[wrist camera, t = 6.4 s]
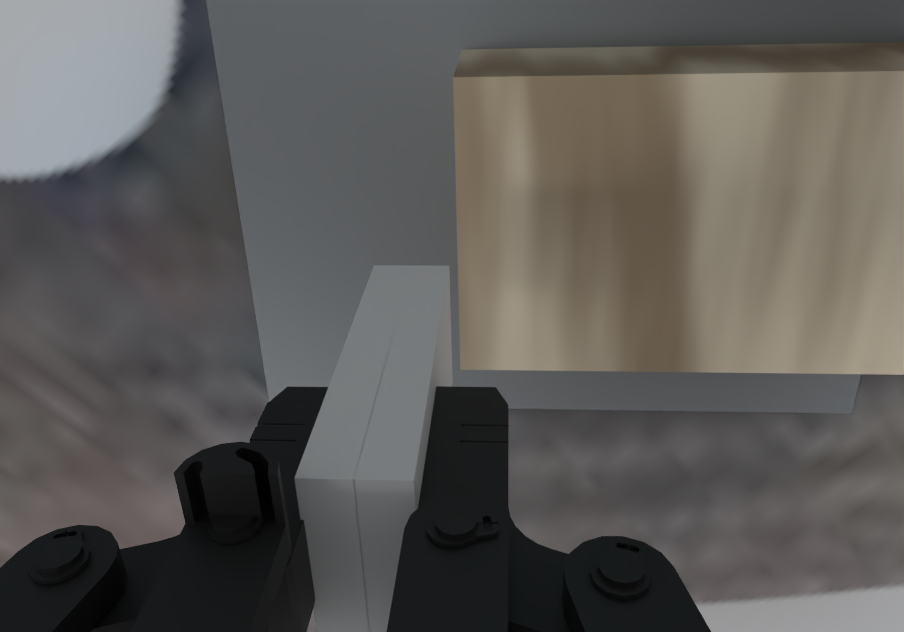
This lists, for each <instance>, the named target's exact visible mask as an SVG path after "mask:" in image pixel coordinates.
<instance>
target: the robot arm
mask: <svg viewBox="0 0 904 632" xmlns="http://www.w3.org/2000/svg"><path fill="white" fill-rule="evenodd" d="M452 385H453V374H452V340H451V307H450V273H449V266H433V265H374V266H373V269H372V272H371V274H370V277H369V280H368V283H367V285H366V288H365V291H364V293H363V296H362V299H361V301H360V304H359V307H358V309H357V312H356V315H355V317H354V320H353V323H352V325H351V328H350V331H349V333H348V336H347V339H346V341H345V344H344V347H343V349H342V352H341V355H340V358H339V360H338V363H337V366H336V368H335V371H334V374H333V376H332V379H331V382H330V384H329V387H286V388H285V389H284V390H283V391H282V392H280V393H279V394H278V395H277V396H276V397H274V398H273V399H272V400H271V401H270V402H268V403H267V405H266V407H265V409H264V411H263V413H262V415H261V417H260V419H259V421H258V427H256V428H255V430H254V432H253V434H252V436H251V438H250V443H246V442H235V443H225V444H219V445H216V446H213V447H210V448H207V449H204V450H201V451H200V452H198V453H196V454H195V455H193V456H191V457H190V458H188V459H186V460H185V461H184V462H183V463H182V464H181V465H180V466H179V468H178V469H177V470H176V471H175V472H174V476H175V480H176V484H177V489H178V493H179V497H180V501H181V506H182V510H183V514H184V518H185V523H186V524H185V526H184V528H183V530H182V532H181V533H180V535H177V536H175V537H172V538H168V539H165V540H161V541H158V542H153V543H148V544H143V545H139V546H134V547H129V548H124V549H119V546H118V543H117V541H116V540H115V538H114V536H113V535H112V533H111V532H109V531H107V530H105V529H103V528H100V527H98V526H86V525H77V526H72V527H67V528H62V529H57V530H55V531H52V532H50V533H48V534H46V535H43V536H41V537H39V538H36V539H35V540H33V541H32V542H31V543H29V544H28V545H27V546H25V547H24V548H22V549H21V550H20V551H18V552H17V553H16V554H15V555H14V556H13V557H12V558H11V559H9V560H8V561H7V562H6V563H5V564H4V565H3V566H2V567H1V568H0V632H307V628H308V624H309V621H310V617H311V614H312V610H313V607H314V614H315V621H316V627H317V632H711V631H710V629H709V627H708V626H707V624H706V622H705V620H704V619H703V617H702V615H701V613H700V612H699V610H698V608H697V607H696V605H695V603H694V601H693V600H692V598H691V596H690V594H689V593H688V591H687V589H686V587H685V586H684V584H683V582H682V580H681V579H680V577H679V575H678V573H677V572H676V570H675V568H674V567H673V566H672V564H671V563H670V562H669V561H668V560H667V559H666V558H665V556H664V555H663V554H662V553H661V552H659V551H658V550H656V549H654V548H653V547H651V546H649V545H648V544H646V543H644V542H642V541H638V540H634V539H630V538H627V537H623V536H601V537H598V538H595V539H592V540H588V541H585V542H583V543H582V544H580V545H579V546H578V547H577V548H575V549H574V550H573V551H572V552H571V553H570V554H567V553H563V552H559V551H556V550H552V549H550V548H547V547H545V546H542V545H539V544H537V543H535V542H534V541H532V540H531V539H529V538H527V537H526V536H525V535H524V534H523V533H522V532H521V531H520V530H519V529H518V528H517V527H516V526H515V524H514V523H513V521H512V519H511V517H510V513H509V508H508V404H507V402H506V401H505V399H504V398H503V397H502V395H501V394H500V392H499V391H498V389H497V388H496V387H452Z"/></svg>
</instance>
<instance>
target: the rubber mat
mask: <svg viewBox="0 0 904 632" xmlns="http://www.w3.org/2000/svg"><path fill="white" fill-rule="evenodd" d="M206 4H207V11H208V17H209V23H210V30H211V36H212V42H213V49H214V55H215V61H216V68H217V74H218V80H219V87H220V93H221V99H222V106H223V112H224V118H225V125H226V131H227V137H228V144H229V150H230V156H231V163H232V169H233V175H234V182H235V188H236V194H237V201H238V207H239V213H240V220H241V226H242V232H243V239H244V245H245V252H246V258H247V264H248V271H249V277H250V283H251V290H252V296H253V302H254V309H255V315H256V321H257V328H258V334H259V340H260V347H261V353H262V359H263V366H264V372H265V378H266V385H267V391H268V397H269V402H270V401H271V400H272V399H273V398H274V397H276V396H277V395H278V394H279V393H280V392H282V391H283V390H284V389H285V388H286V387H329V384H330V382H331V379H332V376H333V374H334V371H335V368H336V366H337V363H338V360H339V358H340V355H341V352H342V349H343V347H344V344H345V341H346V339H347V336H348V333H349V331H350V328H351V325H352V323H353V320H354V317H355V315H356V312H357V309H358V307H359V304H360V301H361V299H362V296H363V293H364V291H365V288H366V285H367V283H368V280H369V277H370V274H371V272H372V269H373V266H374V265H433V266H449V273H450V307H451V340H452V374H453V385H452V387H496V388H497V389H498V391H499V392H500V394H501V395H502V397H503V398H504V399H505V401H506V402H507V404H508V409H567V410H635V411H703V412H771V413H840V414H852V410H853V406H854V402H855V398H856V394H857V390H858V386H859V382H860V378H861V374H798V373H710V372H622V371H534V370H460V336H459V295H458V254H457V213H456V172H455V131H454V90H453V76H454V73H455V70H456V67H457V64H458V61H459V58H460V55H461V51H462V49H515V48H576V47H637V46H697V45H758V44H819V43H880V42H904V0H206Z"/></svg>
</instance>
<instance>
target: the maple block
mask: <svg viewBox="0 0 904 632" xmlns="http://www.w3.org/2000/svg"><path fill="white" fill-rule="evenodd" d="M453 90H454V131H455V172H456V213H457V254H458V295H459V336H460V370H534V371H622V372H710V373H798V374H887V375H904V42H880V43H819V44H758V45H697V46H637V47H576V48H515V49H462V51H461V55H460V58H459V61H458V64H457V67H456V70H455V73H454V76H453Z"/></svg>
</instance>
